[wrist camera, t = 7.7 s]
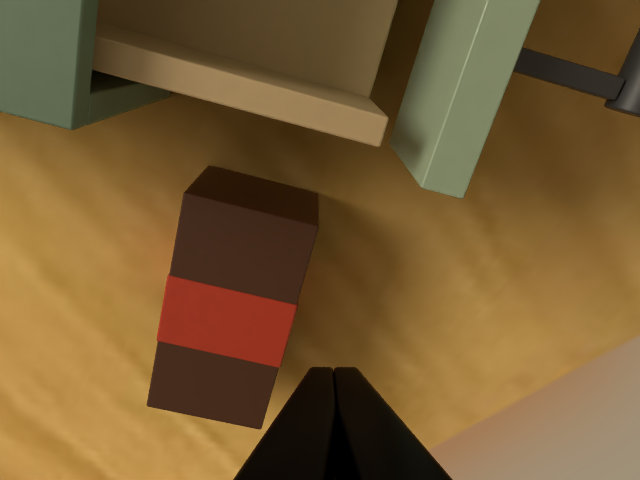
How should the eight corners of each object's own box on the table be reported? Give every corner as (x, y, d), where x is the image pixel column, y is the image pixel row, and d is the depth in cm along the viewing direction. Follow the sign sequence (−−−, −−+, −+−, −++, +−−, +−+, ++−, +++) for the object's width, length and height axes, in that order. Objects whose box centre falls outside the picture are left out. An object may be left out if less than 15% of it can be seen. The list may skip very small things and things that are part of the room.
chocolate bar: (320, 193, 20) (320, 226, 17) (271, 369, 24) (262, 431, 20) (207, 164, 20) (181, 191, 16) (172, 347, 23) (144, 407, 19)
